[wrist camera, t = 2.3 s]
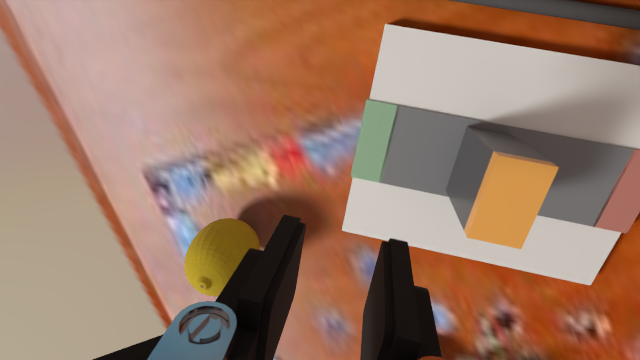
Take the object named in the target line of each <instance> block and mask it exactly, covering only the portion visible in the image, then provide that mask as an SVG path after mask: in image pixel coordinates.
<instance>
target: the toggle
mask: <svg viewBox="0 0 640 360" xmlns="http://www.w3.org/2000/svg"><path fill="white" fill-rule="evenodd" d="M558 169H559V167H558V166H557V165H555V164H554V163H552V162H551V161H549V160H548V159H546V158H545V157H544V156H542V155H541V154H539V153H538V152H536V151H535V150H533V149H532V148H530V147H529V146H528V145H526V144H525V143H523V142H522V141H520V140H519V139H517V138H516V137H515V136H513V135H512V134H507V133H501V132H496V131H491V130H485V129H480V128H475V127H469V126H467V128H466V131H465V134H464V137H463V140H462V143H461V146H460V149H459V152H458V155H457V158H456V161H455V164H454V167H453V170H452V173H451V176H450V179H449V182H448V185H447V188H446V192H447V194H448V197H449V199H450V201H451V203H452V205H453V208H454V210H455V212H456V214H457V217H458V219H459V221H460V223H461V225H462V228H463V230H464V232H465V234H466V237H467V238H471V239H475V240H480V241H485V242H489V243H494V244H498V245H503V246H508V247H512V248H517V249H522V246H523V244H524V242H525V240H526V238H527V236H528V233H529V231H530V229H531V227H532V225H533V223H534V220H535V218H536V216H537V214H538V212H539V210H540V208H541V205H542V203H543V201H544V199H545V197H546V195H547V192H548V190H549V188H550V186H551V184H552V182H553V179H554V177H555V175H556V173H557V171H558Z"/></svg>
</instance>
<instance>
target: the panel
mask: <svg viewBox="0 0 640 360" xmlns="http://www.w3.org/2000/svg"><path fill="white" fill-rule="evenodd" d="M467 126H469V127H475V128H480V129H485V130H491V131H496V132H501V133H507V134H512V135H513V136H515V137H516V138H517V139H519V140H520V141H522V142H523V143H525V144H526V145H528V146H529V147H530V148H532V149H533V150H535V151H536V152H538V153H539V154H541V155H542V156H544V157H545V158H546V159H548V160H549V161H551V162H552V163H554V164H555V165H557V166H558V167H559V169H558V171H557V173H556V175H555V177H554V179H553V182H552V184H551V186H550V188H549V190H548V192H547V195H546V197H545V199H544V201H543V203H542V205H541V208H540V210H539V212H538V214H537V216H536V218H535V220H534V223H533V225H532V227H531V229H530V231H529V233H528V236H527V238H526V240H525V242H524V244H523V246H522V249H517V248H512V247H508V246H503V245H498V244H494V243H489V242H485V241H480V240H475V239H471V238H467V237H466V234H465V232H464V230H463V228H462V225H461V223H460V221H459V219H458V217H457V214H456V212H455V210H454V208H453V205H452V203H451V201H450V199H449V197H448V194H447V192H446V188H447V185H448V182H449V179H450V176H451V173H452V170H453V167H454V164H455V161H456V158H457V155H458V152H459V149H460V146H461V143H462V140H463V137H464V134H465V131H466V128H467ZM351 177H353V179H352V184H351V189H350V194H349V198H348V203H347V208H346V213H345V217H344V222H343V227H342V231H346V232H350V233H355V234H359V235H364V236H368V237H373V238H377V239H382V240H386V241H389V239H390V238H393V239H397V240H402V241H406V242H408V245H409V246H414V247H418V248H423V249H427V250H432V251H436V252H441V253H445V254H450V255H454V256H459V257H464V258H468V259H473V260H477V261H482V262H486V263H491V264H495V265H500V266H504V267H509V268H513V269H518V270H522V271H527V272H532V273H536V274H541V275H545V276H550V277H554V278H559V279H563V280H568V281H572V282H577V283H581V284H586V285H591V284H592V282H593V280H594V279H595V277H596V275H597V273H598V272H599V270H600V268H601V267H602V265H603V263H604V262H605V260H606V258H607V256H608V255H609V253H610V251H611V250H612V248H613V246H614V245H615V243H616V241H617V239H618V238H619V236H620V234H621V233H626V234H627V232H628V231H629V229H630V227H631V226H632V224H633V222H634V221H635V219H636V217H637V216H638V214H639V212H640V66H638V65H632V64H626V63H620V62H614V61H608V60H602V59H596V58H590V57H583V56H577V55H571V54H565V53H559V52H553V51H547V50H541V49H535V48H529V47H523V46H516V45H510V44H504V43H498V42H492V41H486V40H480V39H474V38H468V37H462V36H456V35H449V34H443V33H437V32H431V31H425V30H419V29H413V28H407V27H401V26H395V25H389V24H385V27H384V32H383V37H382V41H381V46H380V51H379V56H378V60H377V65H376V70H375V75H374V79H373V84H372V89H371V94H370V98H369V100H367V99H366V104H365V109H364V114H363V119H362V124H361V128H360V133H359V138H358V143H357V148H356V153H355V157H354V162H353V167H352V172H351Z"/></svg>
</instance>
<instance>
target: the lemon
mask: <svg viewBox="0 0 640 360" xmlns="http://www.w3.org/2000/svg"><path fill="white" fill-rule="evenodd" d="M250 248H253V249H258V250H260V243H259V239H258V236H257V235H256V233H255V231H254V230H253V229H252V228H251V227H250V226H249V225H248V224H246V223H245V222H243V221H241V220H238V219H232V218H227V219H220V220H217V221H214V222H212V223H210V224H209V225H207V226H206V227H205V228H203V229H202V230H201V231H200V232H199V233H198V234H197V236H196V237H195V238H194V239H193V241H192V242H191V244H190V246H189V248H188V251H187V254H186V257H185V273H186V276H187V279H188V280H189V282H190V284H191V285H192V286H193V287H194V288H195V289H196V290H197V291H199V292H201V293H203V294H206V295H209V296H219V295H220V293H221V292H222V290H223V288H224V287H225V285H226V284H227V282H228V281H229V279H230V277H231V276H232V274H233V273H234V271H235V270H236V268H237V266H238V265H239V263H240V262H241V260H242V259H243V257H244V255H245V254H246V252H247V251H248V250H249V249H250Z"/></svg>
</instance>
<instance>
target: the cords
mask: <svg viewBox="0 0 640 360" xmlns="http://www.w3.org/2000/svg"><path fill="white" fill-rule="evenodd" d="M451 1H457V2H464V3H470V4H476V5H483V6H489V7H496V8H502V9H509V10H515V11H521V12H528V13H534V14H541V15H547V16H554V17H560V18H567V19H573V20H579V21H586V22H592V23H599V24H605V25H612V26H618V27H624V28H631V29H637V30H640V10H633V9H627V8H620V7H613V6H607V5H600V4H593V3H587V2H580V1H573V0H451Z"/></svg>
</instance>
